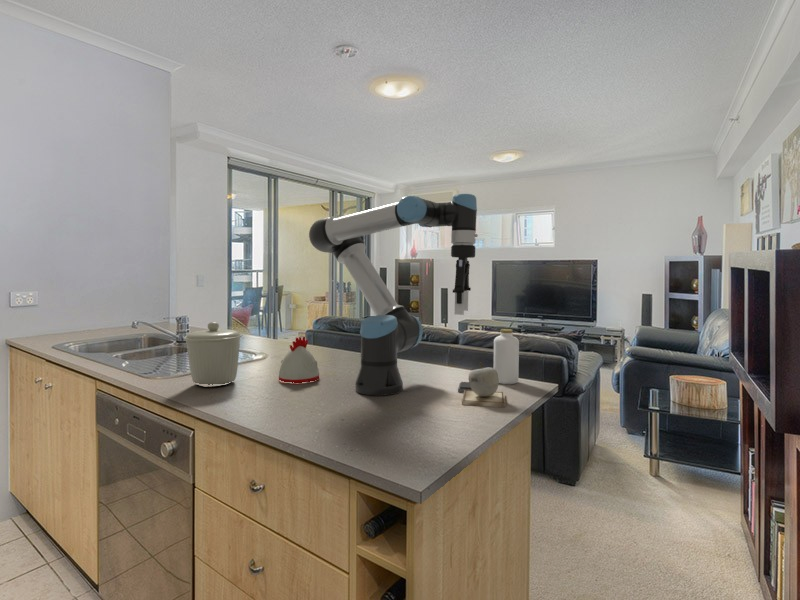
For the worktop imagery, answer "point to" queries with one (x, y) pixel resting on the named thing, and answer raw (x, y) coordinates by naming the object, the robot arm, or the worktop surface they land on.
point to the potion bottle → (506, 357)
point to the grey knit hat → (299, 364)
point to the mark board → (483, 399)
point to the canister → (213, 354)
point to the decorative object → (484, 381)
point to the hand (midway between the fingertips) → (461, 312)
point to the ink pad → (464, 386)
